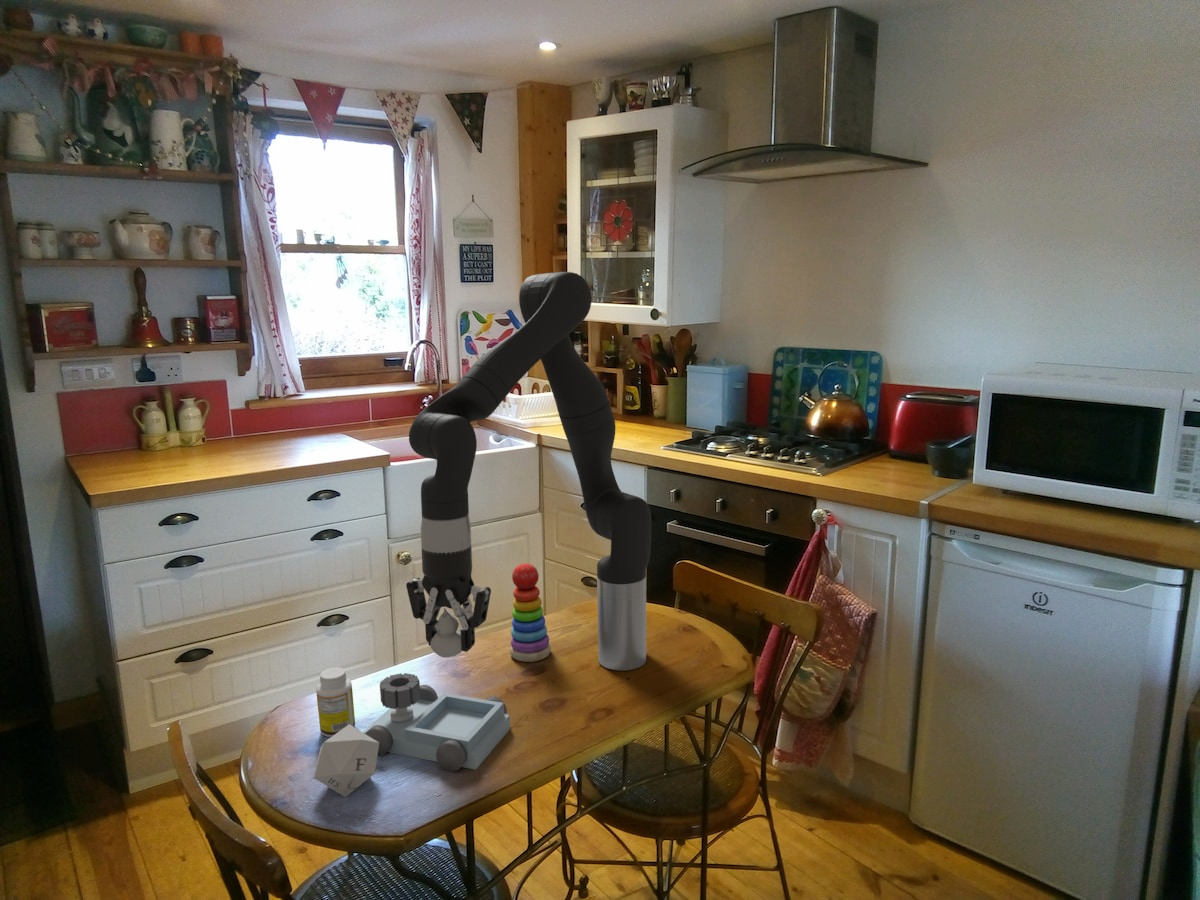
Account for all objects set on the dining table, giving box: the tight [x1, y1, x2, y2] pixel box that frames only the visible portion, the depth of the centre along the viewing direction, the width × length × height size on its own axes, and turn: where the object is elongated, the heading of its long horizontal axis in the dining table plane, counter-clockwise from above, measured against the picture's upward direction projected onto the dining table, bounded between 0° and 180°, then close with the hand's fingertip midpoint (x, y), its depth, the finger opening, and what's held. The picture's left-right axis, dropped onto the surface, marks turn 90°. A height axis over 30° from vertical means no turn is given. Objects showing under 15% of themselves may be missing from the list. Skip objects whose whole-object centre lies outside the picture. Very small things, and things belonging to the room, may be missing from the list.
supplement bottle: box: [315, 667, 356, 738], centre depth 134 cm, size 6×6×10 cm
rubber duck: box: [430, 607, 463, 658], centre depth 128 cm, size 5×7×8 cm
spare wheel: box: [379, 672, 421, 709], centre depth 133 cm, size 6×6×3 cm
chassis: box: [362, 684, 511, 773], centre depth 131 cm, size 15×20×6 cm
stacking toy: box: [509, 563, 552, 663], centre depth 159 cm, size 8×8×19 cm
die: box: [313, 724, 379, 798], centre depth 119 cm, size 8×9×10 cm
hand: (450, 646), depth 128 cm, fingers closed on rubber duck, 5 cm apart
